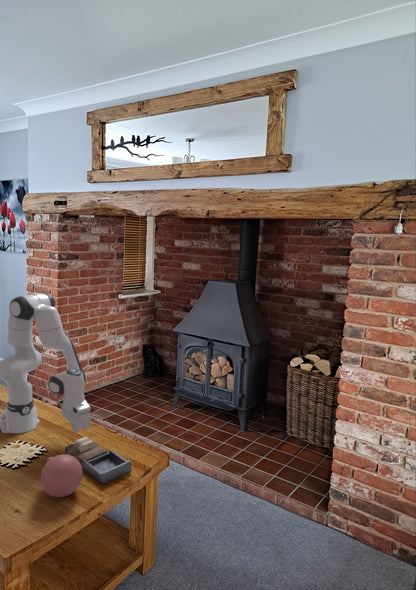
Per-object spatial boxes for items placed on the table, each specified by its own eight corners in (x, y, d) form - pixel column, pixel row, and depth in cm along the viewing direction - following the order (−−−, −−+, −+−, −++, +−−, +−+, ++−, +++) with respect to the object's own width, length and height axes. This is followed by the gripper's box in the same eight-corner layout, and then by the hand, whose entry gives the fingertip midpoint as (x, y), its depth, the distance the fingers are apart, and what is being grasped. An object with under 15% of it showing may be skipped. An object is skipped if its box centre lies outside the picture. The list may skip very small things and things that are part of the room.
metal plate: (65, 452, 197) (65, 446, 196) (88, 443, 205) (88, 438, 205) (83, 467, 186) (83, 460, 186) (107, 457, 195) (107, 451, 194)
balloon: (71, 472, 182) (71, 438, 180) (88, 497, 166) (88, 460, 164) (33, 483, 173) (32, 448, 171) (47, 511, 157) (46, 473, 155)
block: (74, 447, 196) (74, 440, 196) (86, 442, 201) (86, 436, 200) (81, 452, 192) (81, 445, 192) (93, 447, 197) (93, 441, 196)
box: (82, 468, 185) (82, 458, 184) (109, 456, 195) (109, 446, 194) (103, 485, 174) (103, 473, 173) (130, 471, 184) (131, 461, 184)
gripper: (57, 399, 203) (58, 426, 206) (80, 412, 190) (81, 441, 192) (69, 395, 208) (70, 422, 210) (92, 408, 194) (93, 436, 196)
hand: (75, 431), depth 201 cm, fingers closed
